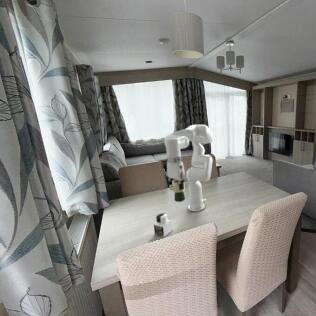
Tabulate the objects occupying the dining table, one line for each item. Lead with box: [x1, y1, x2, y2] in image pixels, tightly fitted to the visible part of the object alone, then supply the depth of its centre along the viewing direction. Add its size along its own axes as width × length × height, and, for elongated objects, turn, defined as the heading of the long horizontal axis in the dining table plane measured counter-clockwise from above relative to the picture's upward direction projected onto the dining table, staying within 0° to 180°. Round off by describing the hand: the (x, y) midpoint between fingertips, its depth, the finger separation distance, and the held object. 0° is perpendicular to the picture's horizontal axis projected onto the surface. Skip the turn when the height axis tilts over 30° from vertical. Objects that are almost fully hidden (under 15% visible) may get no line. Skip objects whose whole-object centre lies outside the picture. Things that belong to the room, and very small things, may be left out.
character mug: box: [168, 179, 189, 203], centre depth 119 cm, size 11×7×13 cm, turn 123°
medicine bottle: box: [153, 212, 173, 238], centre depth 119 cm, size 7×7×12 cm
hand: (176, 188), depth 117 cm, fingers closed on character mug, 7 cm apart
